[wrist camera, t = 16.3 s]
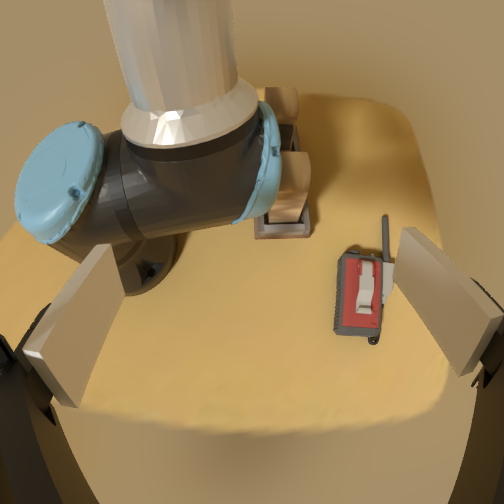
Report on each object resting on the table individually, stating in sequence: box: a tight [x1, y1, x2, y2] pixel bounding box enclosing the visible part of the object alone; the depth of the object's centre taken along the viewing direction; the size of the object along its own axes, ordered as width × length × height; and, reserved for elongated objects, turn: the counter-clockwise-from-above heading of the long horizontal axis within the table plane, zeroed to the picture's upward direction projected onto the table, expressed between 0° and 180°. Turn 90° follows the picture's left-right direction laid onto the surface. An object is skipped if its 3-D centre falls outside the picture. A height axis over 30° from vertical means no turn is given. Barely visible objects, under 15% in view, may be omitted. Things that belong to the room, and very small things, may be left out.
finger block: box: [268, 152, 311, 225], centre depth 37 cm, size 4×6×12 cm
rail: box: [254, 87, 311, 239], centre depth 40 cm, size 8×20×14 cm, turn 2°
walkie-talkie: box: [334, 216, 394, 345], centre depth 40 cm, size 9×4×20 cm
